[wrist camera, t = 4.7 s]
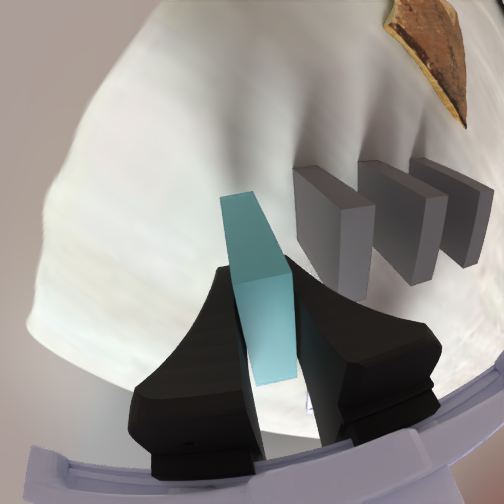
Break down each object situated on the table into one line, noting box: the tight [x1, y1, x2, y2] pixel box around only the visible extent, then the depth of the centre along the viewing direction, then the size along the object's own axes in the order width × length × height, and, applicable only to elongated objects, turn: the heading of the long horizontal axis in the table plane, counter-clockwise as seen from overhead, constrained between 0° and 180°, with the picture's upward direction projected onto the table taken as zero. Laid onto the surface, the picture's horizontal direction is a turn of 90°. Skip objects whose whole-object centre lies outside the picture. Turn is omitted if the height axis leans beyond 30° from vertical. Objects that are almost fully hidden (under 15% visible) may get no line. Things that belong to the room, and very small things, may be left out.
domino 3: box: [358, 160, 448, 286], centre depth 15 cm, size 2×5×7 cm, turn 7°
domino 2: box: [292, 166, 375, 302], centre depth 15 cm, size 2×5×7 cm, turn 7°
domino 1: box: [220, 191, 297, 386], centre depth 12 cm, size 2×5×7 cm, turn 7°
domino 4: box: [409, 158, 494, 269], centre depth 16 cm, size 2×5×7 cm, turn 7°
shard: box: [383, 0, 467, 129], centre depth 13 cm, size 11×8×2 cm
